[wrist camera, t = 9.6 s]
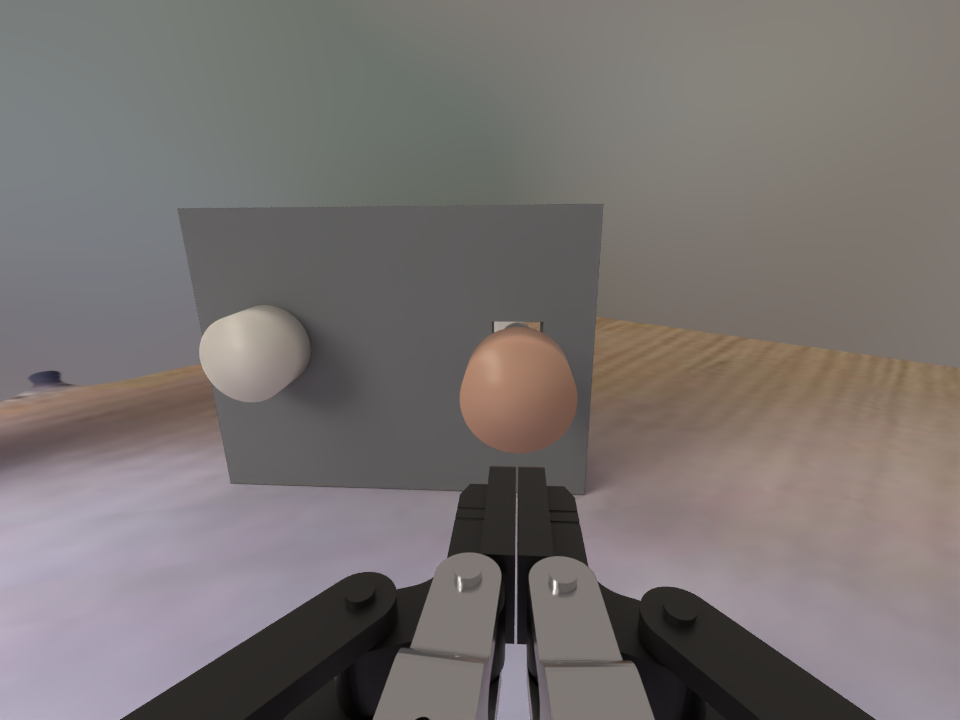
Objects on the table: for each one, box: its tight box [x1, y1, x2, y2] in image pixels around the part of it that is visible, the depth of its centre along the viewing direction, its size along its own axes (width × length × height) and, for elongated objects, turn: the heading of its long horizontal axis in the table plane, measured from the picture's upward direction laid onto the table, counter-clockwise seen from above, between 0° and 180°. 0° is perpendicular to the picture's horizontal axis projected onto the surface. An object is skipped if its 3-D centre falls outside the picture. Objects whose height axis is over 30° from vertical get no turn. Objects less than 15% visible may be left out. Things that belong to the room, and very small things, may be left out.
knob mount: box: [178, 204, 603, 495], centre depth 33 cm, size 8×24×18 cm, turn 86°
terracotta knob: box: [460, 322, 578, 453], centre depth 25 cm, size 10×5×5 cm, turn 176°
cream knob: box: [199, 305, 311, 402], centre depth 31 cm, size 10×5×5 cm, turn 176°
